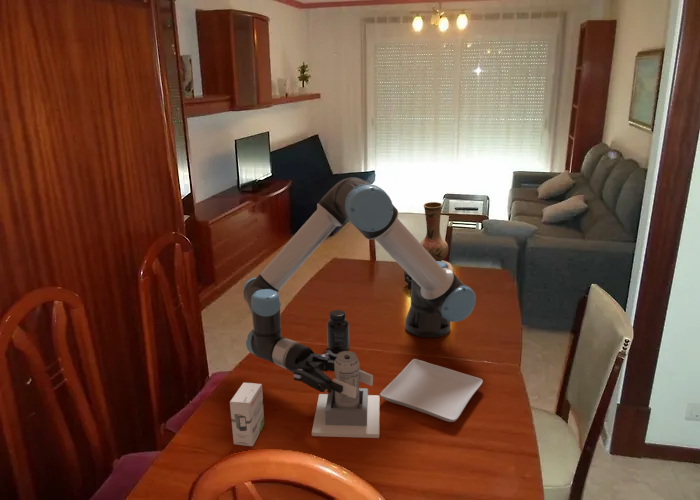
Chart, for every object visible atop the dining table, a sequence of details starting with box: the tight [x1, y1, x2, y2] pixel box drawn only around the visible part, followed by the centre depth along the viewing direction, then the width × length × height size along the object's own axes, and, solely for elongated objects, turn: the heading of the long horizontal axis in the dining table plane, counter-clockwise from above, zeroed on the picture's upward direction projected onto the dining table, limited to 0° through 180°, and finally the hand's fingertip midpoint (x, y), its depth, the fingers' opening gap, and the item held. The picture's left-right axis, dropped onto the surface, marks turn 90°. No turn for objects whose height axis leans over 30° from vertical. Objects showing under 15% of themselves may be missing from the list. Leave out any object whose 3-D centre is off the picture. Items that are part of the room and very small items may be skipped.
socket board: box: [311, 387, 381, 439], centre depth 133 cm, size 16×16×5 cm
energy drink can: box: [334, 350, 360, 409], centre depth 131 cm, size 6×6×15 cm
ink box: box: [229, 382, 265, 447], centre depth 126 cm, size 9×5×12 cm, turn 169°
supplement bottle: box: [326, 309, 350, 353], centre depth 166 cm, size 7×7×12 cm
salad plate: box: [379, 358, 484, 423], centre depth 142 cm, size 21×21×3 cm
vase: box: [403, 201, 455, 291], centre depth 208 cm, size 24×22×35 cm
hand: (363, 386), depth 128 cm, fingers closed on energy drink can, 6 cm apart
